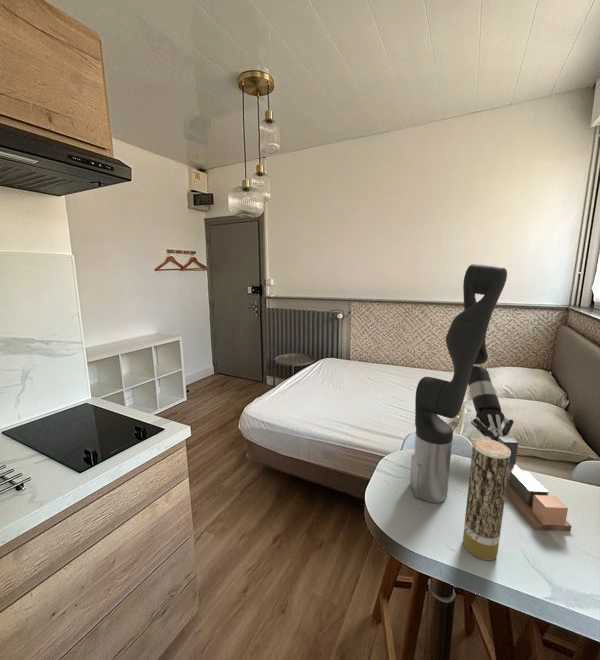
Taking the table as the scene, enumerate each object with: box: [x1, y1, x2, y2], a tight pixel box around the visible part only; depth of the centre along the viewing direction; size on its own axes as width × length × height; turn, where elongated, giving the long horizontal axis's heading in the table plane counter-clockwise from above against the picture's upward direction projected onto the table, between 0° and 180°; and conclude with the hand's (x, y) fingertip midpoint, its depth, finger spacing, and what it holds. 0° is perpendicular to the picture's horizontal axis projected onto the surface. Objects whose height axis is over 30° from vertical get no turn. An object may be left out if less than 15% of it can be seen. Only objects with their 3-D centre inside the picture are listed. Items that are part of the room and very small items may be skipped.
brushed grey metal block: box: [498, 436, 546, 505], centre depth 86 cm, size 4×16×10 cm, turn 176°
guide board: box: [505, 479, 573, 532], centre depth 84 cm, size 8×20×2 cm, turn 176°
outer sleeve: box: [509, 471, 549, 506], centre depth 83 cm, size 5×8×4 cm, turn 176°
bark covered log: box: [462, 438, 511, 561], centre depth 67 cm, size 7×7×25 cm
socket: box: [532, 495, 569, 526], centre depth 75 cm, size 5×4×5 cm
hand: (500, 450), depth 96 cm, fingers closed
